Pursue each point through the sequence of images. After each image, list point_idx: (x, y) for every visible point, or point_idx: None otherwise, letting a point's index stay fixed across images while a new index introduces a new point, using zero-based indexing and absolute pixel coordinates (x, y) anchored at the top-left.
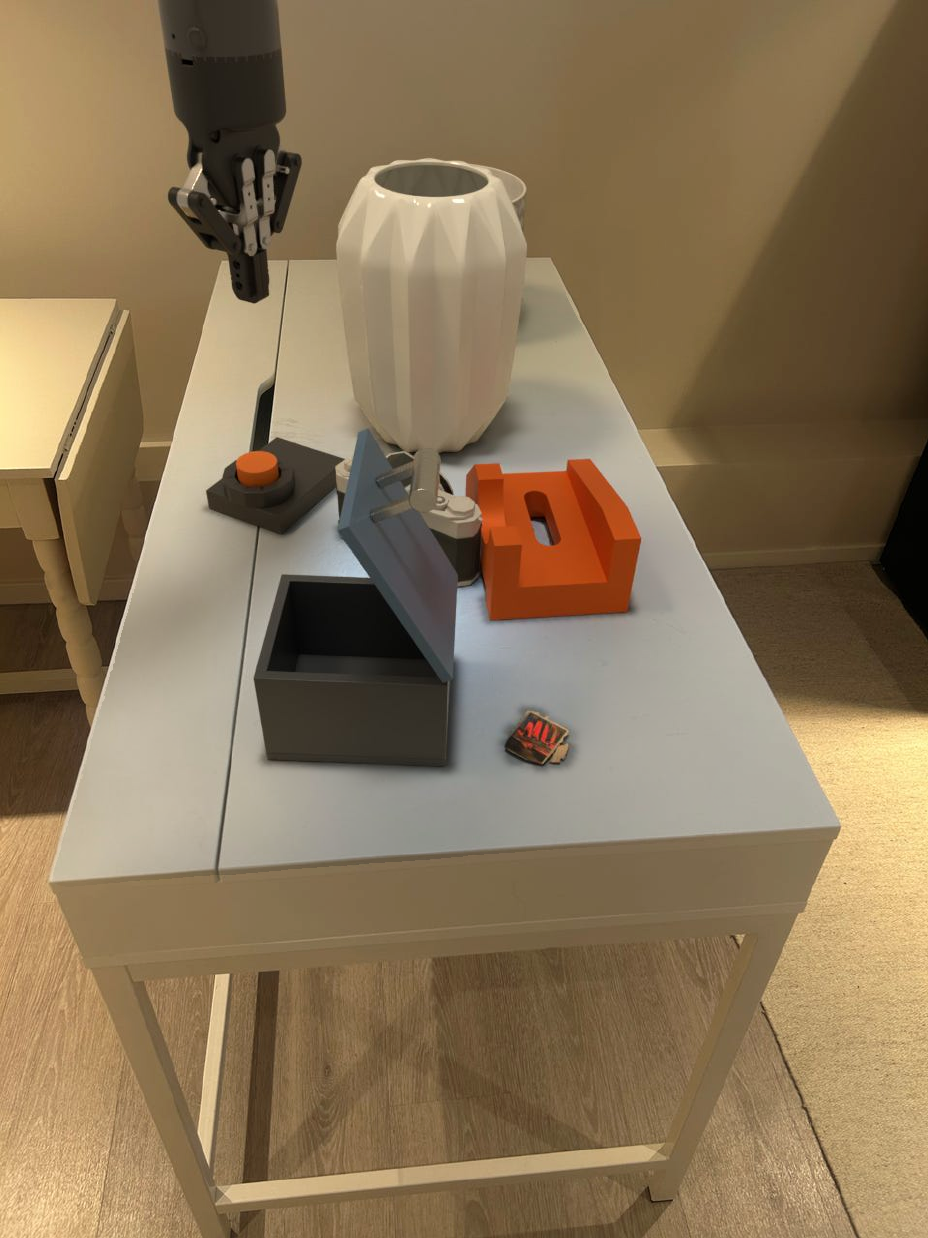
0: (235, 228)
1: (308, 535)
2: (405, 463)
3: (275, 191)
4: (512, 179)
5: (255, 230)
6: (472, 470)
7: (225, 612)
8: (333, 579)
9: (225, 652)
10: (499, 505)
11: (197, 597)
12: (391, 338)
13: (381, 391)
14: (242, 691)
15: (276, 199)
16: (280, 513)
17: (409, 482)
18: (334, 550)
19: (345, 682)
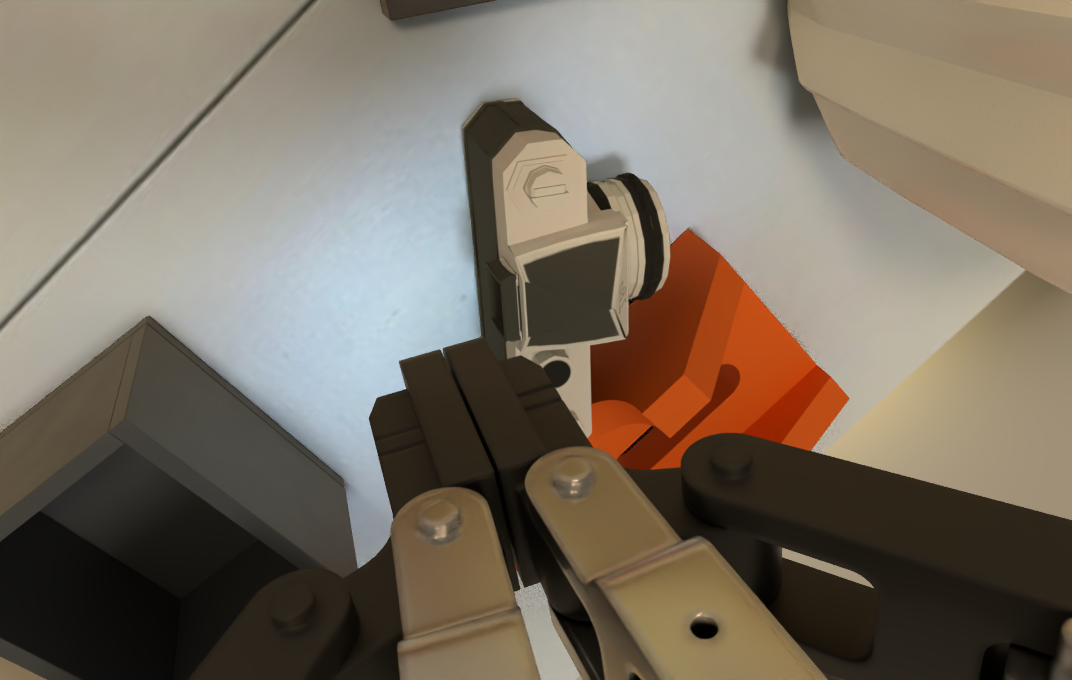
0: (547, 533)
1: (422, 64)
2: (587, 322)
3: (894, 667)
4: None
5: (573, 649)
6: (689, 339)
7: (112, 130)
8: (200, 487)
9: (41, 226)
10: (633, 419)
11: (88, 41)
12: (963, 62)
13: (848, 4)
14: (10, 327)
15: (844, 660)
16: (401, 13)
17: (553, 343)
18: (422, 145)
19: (37, 674)
